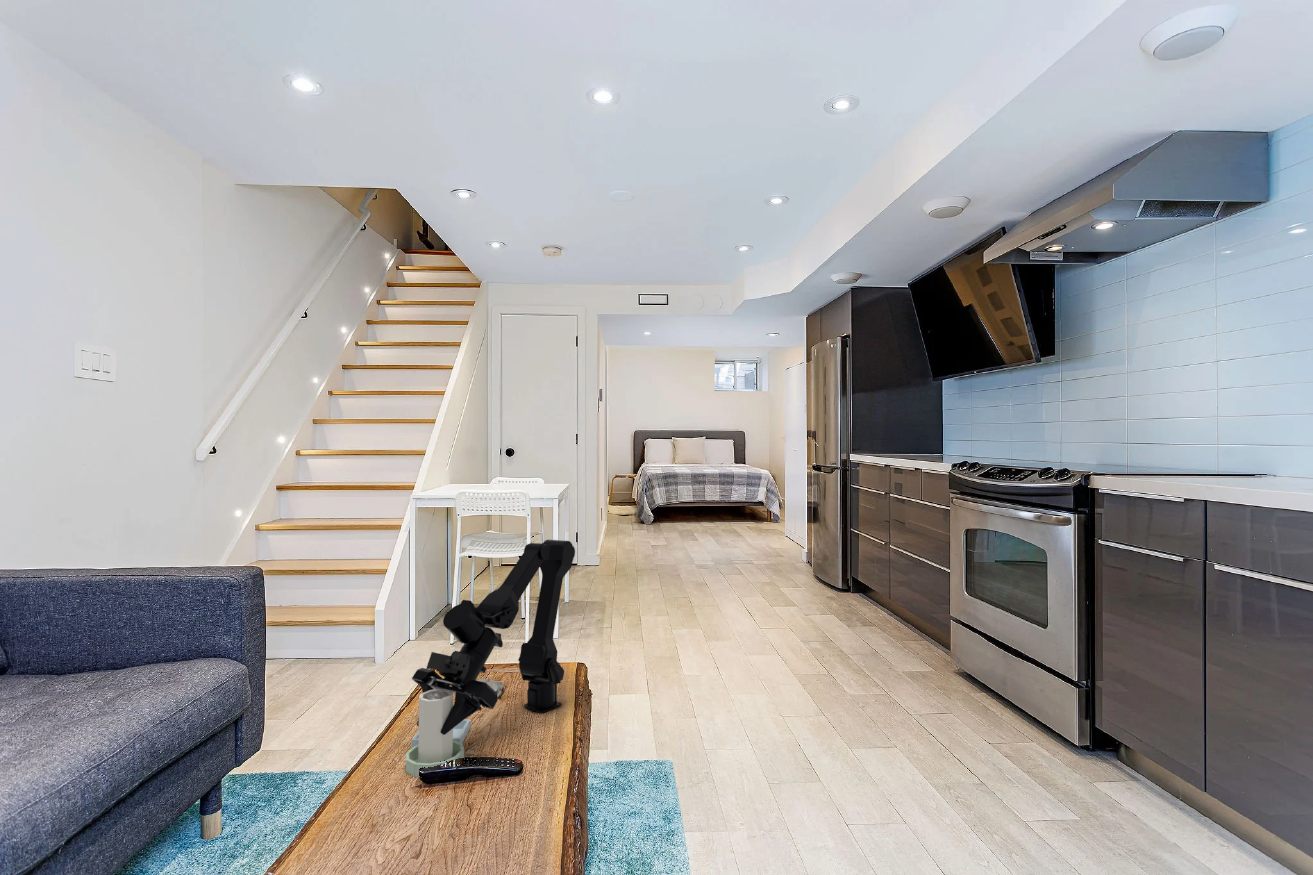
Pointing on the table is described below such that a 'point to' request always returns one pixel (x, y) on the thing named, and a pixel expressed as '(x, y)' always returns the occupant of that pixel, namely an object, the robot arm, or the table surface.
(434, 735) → the pebble cup
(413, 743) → the parts tray
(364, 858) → the table surface
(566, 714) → the table surface
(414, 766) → the bowl
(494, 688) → the mineral specimen
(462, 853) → the table surface
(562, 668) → the robot arm
